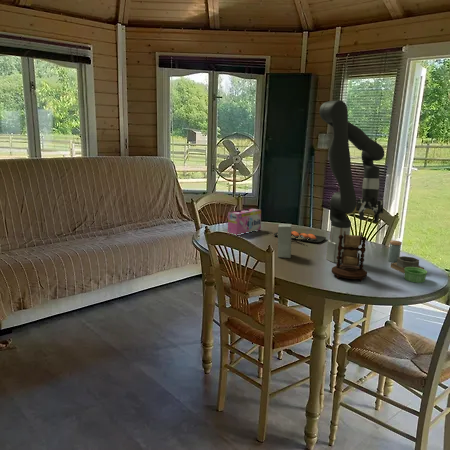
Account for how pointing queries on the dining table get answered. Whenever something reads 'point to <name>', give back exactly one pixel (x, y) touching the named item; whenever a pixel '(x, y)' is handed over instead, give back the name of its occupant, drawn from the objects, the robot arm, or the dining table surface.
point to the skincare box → (284, 240)
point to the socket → (405, 263)
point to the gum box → (244, 221)
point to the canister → (394, 251)
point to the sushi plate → (305, 237)
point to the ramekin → (415, 274)
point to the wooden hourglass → (350, 257)
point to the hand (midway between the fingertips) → (368, 221)
